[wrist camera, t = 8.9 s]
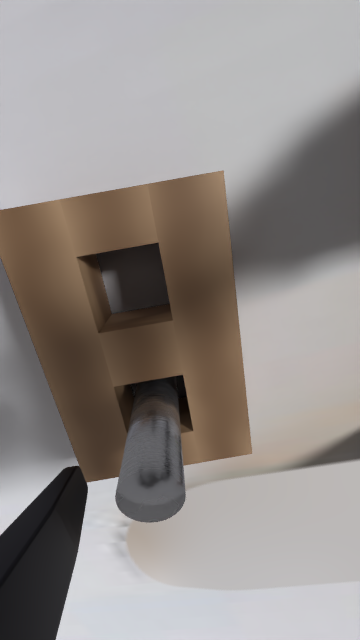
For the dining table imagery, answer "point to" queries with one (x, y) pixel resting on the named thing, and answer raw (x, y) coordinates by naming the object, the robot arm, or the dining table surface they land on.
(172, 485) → the peg
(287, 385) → the dining table surface
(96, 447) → the peg board
